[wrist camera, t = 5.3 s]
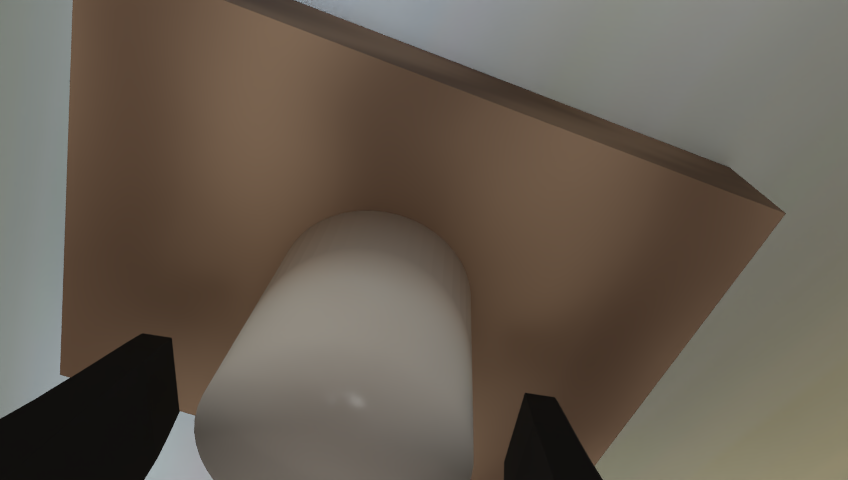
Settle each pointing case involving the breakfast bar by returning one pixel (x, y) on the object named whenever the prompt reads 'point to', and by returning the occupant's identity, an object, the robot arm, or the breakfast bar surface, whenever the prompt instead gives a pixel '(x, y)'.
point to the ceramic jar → (349, 362)
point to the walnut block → (380, 203)
